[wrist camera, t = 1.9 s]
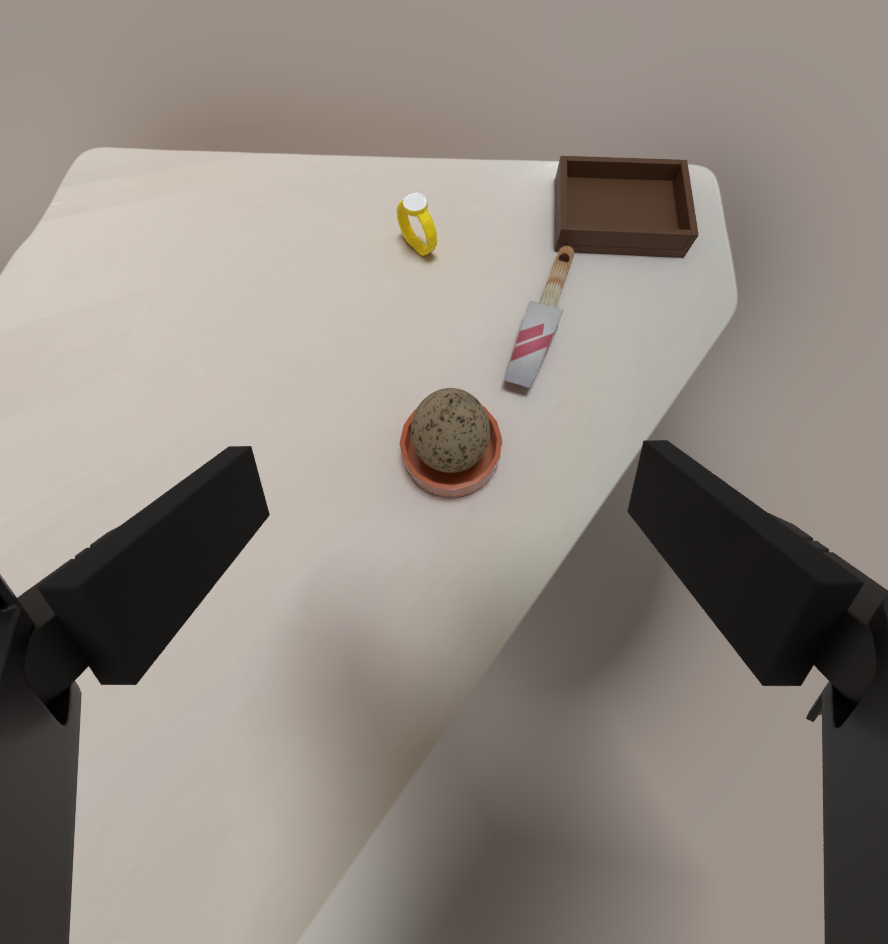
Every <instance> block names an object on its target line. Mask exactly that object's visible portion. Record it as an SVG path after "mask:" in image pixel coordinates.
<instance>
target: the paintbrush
mask: <svg viewBox="0 0 888 944" xmlns="http://www.w3.org/2000/svg"><path fill="white" fill-rule="evenodd" d="M573 256H574V250H573V249H572V247H570V246H563V247H562V248H560V250H559V252H558V254H557V257H556V260H555V263H554V266H553V268H552V271H551V274H550V277H549V279H548V282H547V284H546V287H545V290H544V292H543V295H542V298H541V300H540V303H536V302H533V301H529V303H528V307H527V310H526V313H525V316H524V320H523V323H522V326H521V329H520V332H519V336H518V339H517V342H516V345H515V348H514V352H513V355H512V358H511V361H510V364H509V368H508V371H507V374H506V377H505V381H508V382H512V383H515V384H518V385H522V386H525V387H528V388H531V386H532V383H533V381H534V379H535V377H536V374H537V372H538V370H539V368H540V366H541V363H542V361H543V359H544V357H545V354H546V352H547V350H548V348H549V346H550V343H551V341H552V339H553V337H554V334H555V332H556V330H557V328H558V323H559V320H560V317H561V315H562V312H563V310H562V309H558V308H555V307H556V304H557V301H558V298H559V295H560V292H561V290H562V287H563V284H564V281H565V278H566V275H567V273H568V270H569V267H570V264H571V262H572V259H573Z"/></svg>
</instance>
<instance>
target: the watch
mask: <svg viewBox="0 0 888 944" xmlns="http://www.w3.org/2000/svg"><path fill="white" fill-rule="evenodd" d="M427 207H428V203H427V199H426V197H425V196H424V195H422V194H420V193H411V194H408V195H407V196H406V197H405V198H404V199H403V200H402V201H401V202H400V203H399V205H398V207H397V218H398V222H399V226H400V229H401V230H402V231H401V232H402V234H403V235H404V237H405V239H406V241H407V243H409V244H410V245H411V246H412V247H413V248H414V249H415V250H416V251H417V252H418V253H419V254H420V255H421V256H424V255H427V254H429V253H430V252H432V251H433V250H434V249H435V247H436V245H437V233H436V229H435V226H434V223H433V220H432V218H431V216H430V214H429V212H428V210H427ZM407 214H408V215H410V216H417V217H418V219H419V221H420V223H421V224H422V227H423V230H424V233H425V236H426V241H427V246H426V245H425V244H424V243H423V242H422V241H421V240H420V239H419V238H418V237H417V236H416V235H415V233H414V231H413V229H412V227H411V225H410V222H409V218H408V215H407Z"/></svg>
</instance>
